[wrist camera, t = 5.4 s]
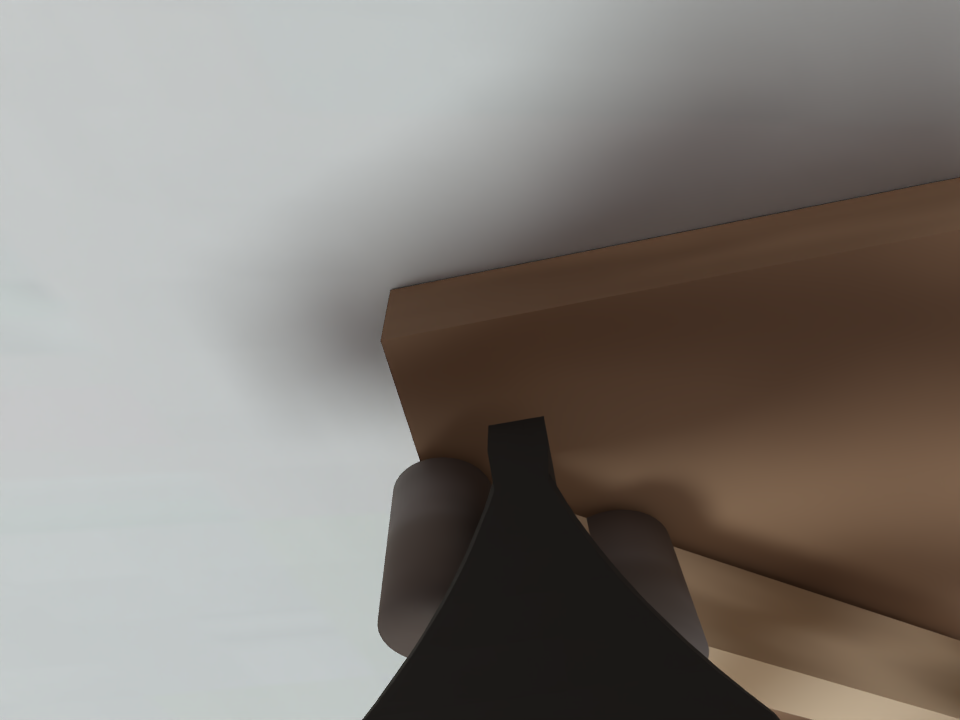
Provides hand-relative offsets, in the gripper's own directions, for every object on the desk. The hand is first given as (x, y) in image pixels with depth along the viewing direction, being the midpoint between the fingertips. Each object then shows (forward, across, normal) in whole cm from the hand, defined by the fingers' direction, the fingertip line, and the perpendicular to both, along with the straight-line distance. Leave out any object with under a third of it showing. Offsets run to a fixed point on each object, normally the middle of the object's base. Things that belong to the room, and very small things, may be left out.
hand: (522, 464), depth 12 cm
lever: (+1, -4, +5) cm, 6 cm away
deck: (+3, -4, +6) cm, 8 cm away
